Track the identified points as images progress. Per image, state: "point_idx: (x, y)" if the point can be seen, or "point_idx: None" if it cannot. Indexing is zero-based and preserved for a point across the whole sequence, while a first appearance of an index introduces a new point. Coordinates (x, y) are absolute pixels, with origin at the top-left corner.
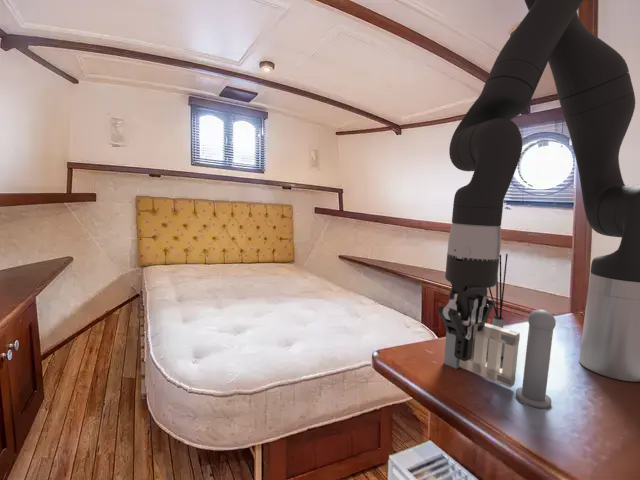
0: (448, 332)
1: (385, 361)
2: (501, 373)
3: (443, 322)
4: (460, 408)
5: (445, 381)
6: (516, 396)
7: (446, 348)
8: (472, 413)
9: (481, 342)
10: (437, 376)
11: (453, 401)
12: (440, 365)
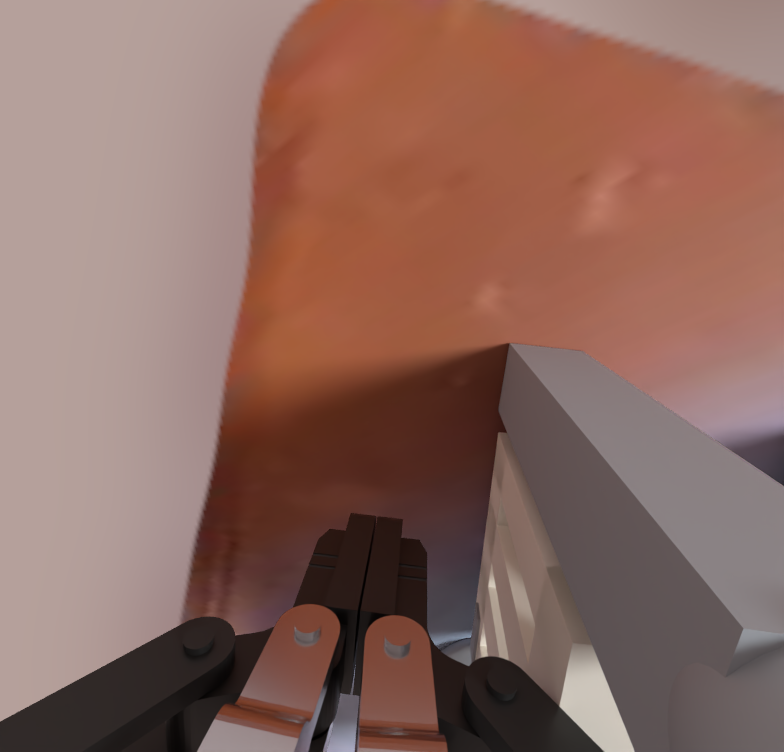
0: (184, 630)
1: (266, 105)
2: (480, 642)
3: (18, 714)
4: (218, 540)
5: (344, 428)
6: (449, 648)
7: (525, 373)
8: (226, 575)
9: (513, 657)
10: (355, 385)
11: (235, 509)
12: (473, 341)
